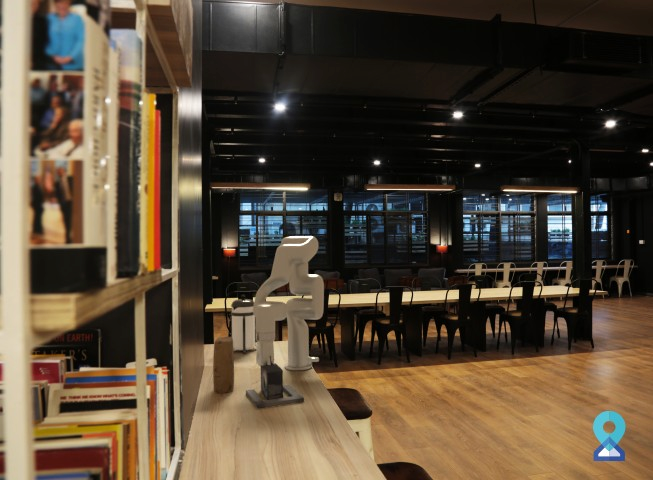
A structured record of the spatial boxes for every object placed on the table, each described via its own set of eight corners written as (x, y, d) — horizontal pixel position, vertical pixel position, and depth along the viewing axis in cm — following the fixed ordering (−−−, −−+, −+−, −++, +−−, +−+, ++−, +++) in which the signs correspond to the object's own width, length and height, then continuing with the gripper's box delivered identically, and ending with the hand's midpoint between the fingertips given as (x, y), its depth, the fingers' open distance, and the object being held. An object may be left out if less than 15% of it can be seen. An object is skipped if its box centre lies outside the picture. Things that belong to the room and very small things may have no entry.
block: (232, 393, 169) (232, 340, 169) (212, 394, 168) (211, 341, 169) (235, 385, 180) (235, 334, 180) (216, 385, 179) (216, 335, 179)
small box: (259, 392, 170) (259, 364, 170) (276, 390, 173) (276, 362, 173) (266, 401, 160) (266, 371, 161) (284, 398, 163) (283, 369, 163)
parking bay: (289, 388, 175) (289, 384, 175) (304, 401, 159) (304, 397, 159) (246, 394, 168) (246, 390, 168) (257, 409, 153) (257, 404, 153)
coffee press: (259, 353, 234) (259, 295, 235) (228, 354, 232) (228, 296, 232) (259, 346, 251) (258, 292, 252) (230, 347, 249) (229, 293, 249)
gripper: (251, 333, 180) (252, 379, 180) (260, 340, 166) (261, 390, 166) (269, 332, 183) (270, 377, 183) (280, 338, 169) (280, 387, 169)
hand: (265, 383), depth 174 cm, fingers closed
